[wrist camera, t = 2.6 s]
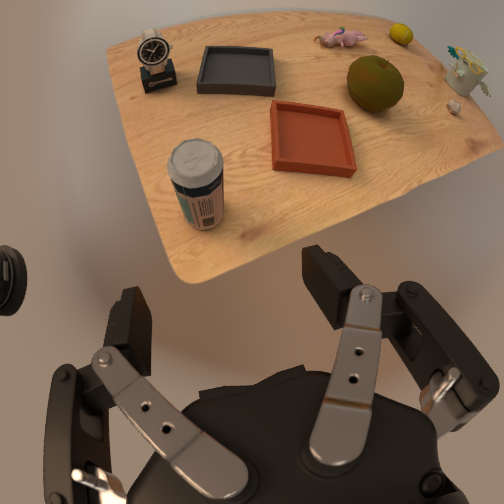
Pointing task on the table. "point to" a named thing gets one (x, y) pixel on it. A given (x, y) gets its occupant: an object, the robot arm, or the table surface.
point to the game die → (454, 107)
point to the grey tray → (237, 71)
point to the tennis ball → (401, 33)
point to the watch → (155, 61)
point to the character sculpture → (466, 73)
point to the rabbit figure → (341, 38)
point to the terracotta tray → (310, 140)
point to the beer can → (198, 182)
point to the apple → (374, 83)
